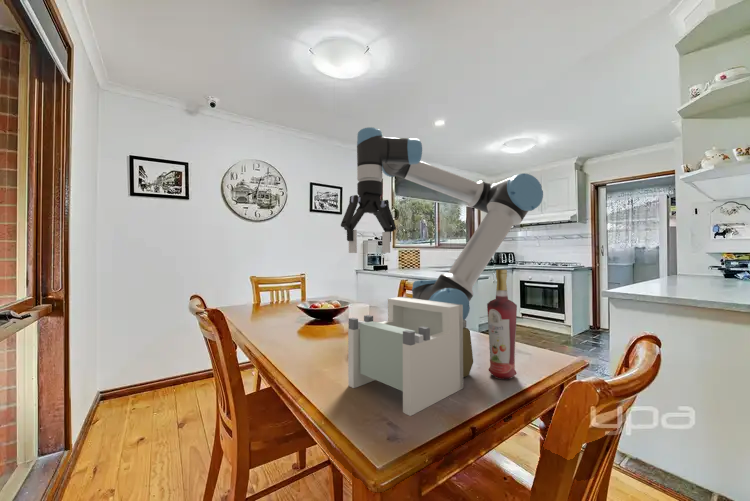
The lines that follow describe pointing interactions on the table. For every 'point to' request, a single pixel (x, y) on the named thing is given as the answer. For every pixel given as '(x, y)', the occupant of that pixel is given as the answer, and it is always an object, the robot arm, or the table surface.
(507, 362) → the liquor
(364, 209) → the robot arm
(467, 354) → the squeeze bottle
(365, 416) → the table surface
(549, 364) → the table surface
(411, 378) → the cabinet
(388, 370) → the door
